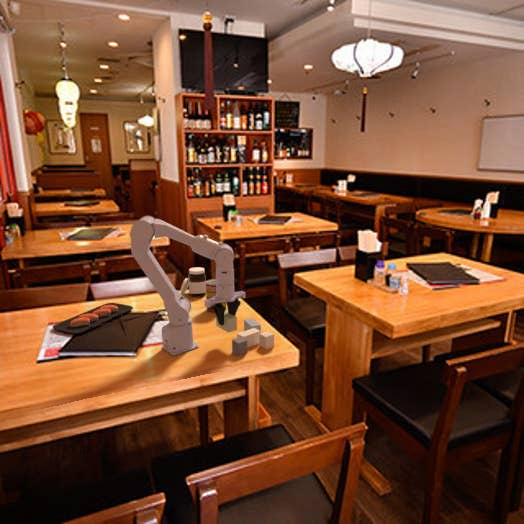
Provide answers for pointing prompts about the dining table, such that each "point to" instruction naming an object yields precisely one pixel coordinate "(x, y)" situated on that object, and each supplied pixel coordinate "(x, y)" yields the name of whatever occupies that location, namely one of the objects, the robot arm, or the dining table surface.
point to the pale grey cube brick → (266, 340)
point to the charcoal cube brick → (239, 346)
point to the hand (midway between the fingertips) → (226, 323)
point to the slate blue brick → (251, 324)
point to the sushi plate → (83, 320)
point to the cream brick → (250, 336)
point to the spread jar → (195, 282)
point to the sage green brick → (228, 322)
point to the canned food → (211, 293)
